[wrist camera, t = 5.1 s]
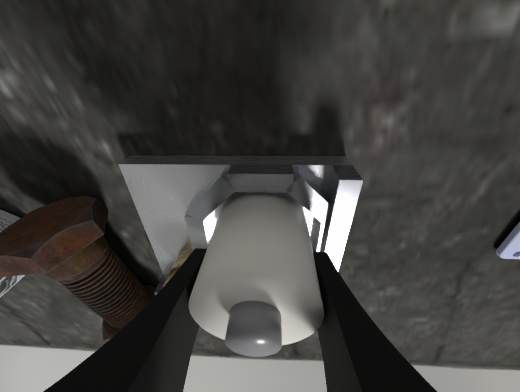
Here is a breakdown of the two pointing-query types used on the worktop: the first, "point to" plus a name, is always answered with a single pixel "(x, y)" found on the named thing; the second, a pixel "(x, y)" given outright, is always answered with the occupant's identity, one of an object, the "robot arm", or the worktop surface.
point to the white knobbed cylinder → (258, 276)
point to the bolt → (75, 258)
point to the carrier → (229, 186)
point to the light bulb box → (3, 220)
